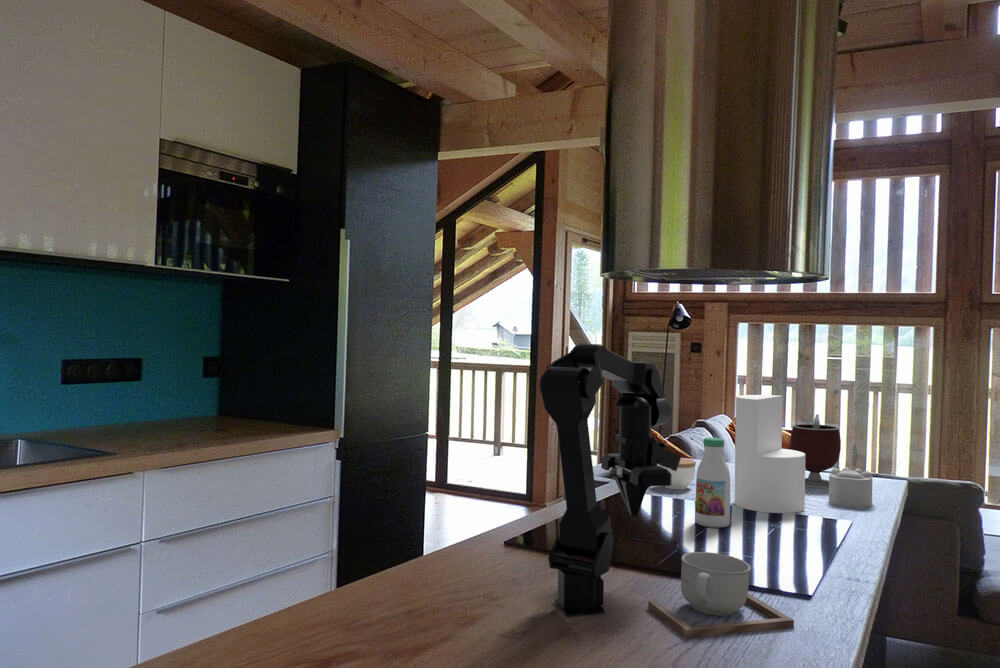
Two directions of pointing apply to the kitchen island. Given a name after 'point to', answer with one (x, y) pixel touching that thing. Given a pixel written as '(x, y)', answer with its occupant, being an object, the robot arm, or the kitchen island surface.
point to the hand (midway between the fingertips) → (633, 516)
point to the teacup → (714, 582)
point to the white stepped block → (766, 459)
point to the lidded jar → (682, 474)
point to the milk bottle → (713, 486)
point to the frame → (774, 623)
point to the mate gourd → (816, 449)
